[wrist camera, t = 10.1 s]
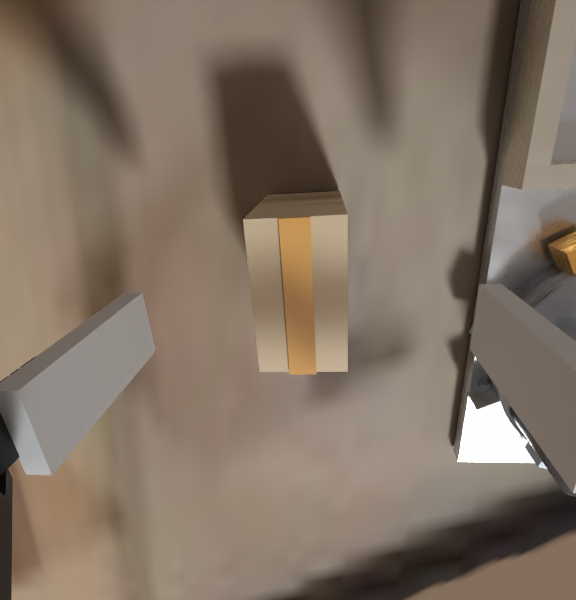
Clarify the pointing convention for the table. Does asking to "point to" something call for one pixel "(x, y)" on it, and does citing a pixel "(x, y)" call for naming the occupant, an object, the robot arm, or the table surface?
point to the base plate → (527, 191)
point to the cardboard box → (299, 281)
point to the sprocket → (559, 311)
